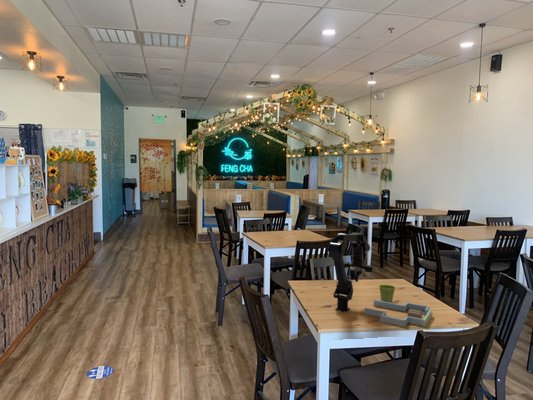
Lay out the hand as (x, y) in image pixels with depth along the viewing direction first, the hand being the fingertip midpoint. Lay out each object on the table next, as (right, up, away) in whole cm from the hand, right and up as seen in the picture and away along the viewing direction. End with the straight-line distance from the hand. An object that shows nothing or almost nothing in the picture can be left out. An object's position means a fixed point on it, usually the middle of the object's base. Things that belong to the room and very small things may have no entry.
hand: (356, 281), depth 225 cm
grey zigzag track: (+17, -14, -18) cm, 29 cm away
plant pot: (+18, -12, +3) cm, 22 cm away
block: (+24, -14, -24) cm, 37 cm away
